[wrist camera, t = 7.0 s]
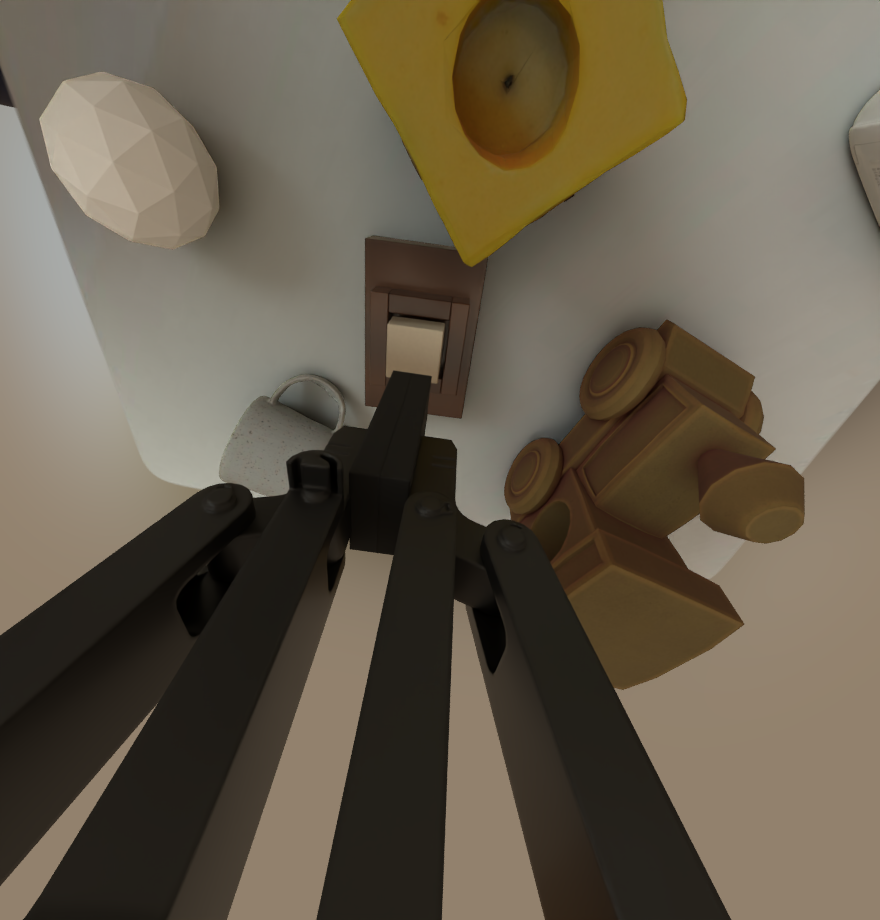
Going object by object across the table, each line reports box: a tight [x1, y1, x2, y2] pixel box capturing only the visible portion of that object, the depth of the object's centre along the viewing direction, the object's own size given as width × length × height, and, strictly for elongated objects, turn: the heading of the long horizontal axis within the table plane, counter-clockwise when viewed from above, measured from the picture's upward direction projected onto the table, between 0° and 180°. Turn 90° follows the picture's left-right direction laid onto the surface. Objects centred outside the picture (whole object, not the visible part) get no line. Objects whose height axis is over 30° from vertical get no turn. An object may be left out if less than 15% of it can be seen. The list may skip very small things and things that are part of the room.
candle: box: [337, 0, 687, 267], centre depth 18 cm, size 10×10×10 cm
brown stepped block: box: [365, 236, 488, 419], centre depth 28 cm, size 12×8×4 cm, turn 174°
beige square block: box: [386, 316, 445, 384], centre depth 25 cm, size 4×4×2 cm
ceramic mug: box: [219, 374, 346, 497], centre depth 31 cm, size 11×8×8 cm
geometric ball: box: [39, 71, 219, 250], centre depth 21 cm, size 8×8×8 cm
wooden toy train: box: [504, 319, 805, 690], centre depth 26 cm, size 20×11×17 cm, turn 152°
